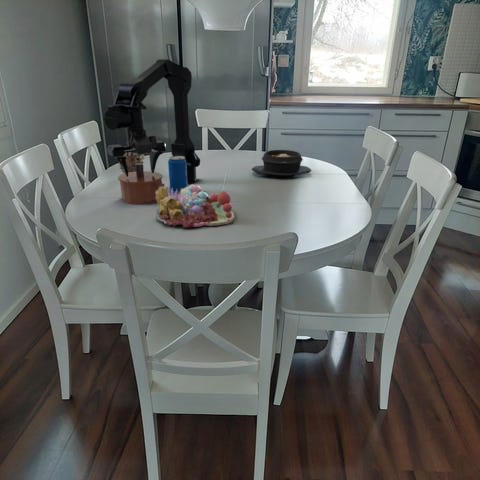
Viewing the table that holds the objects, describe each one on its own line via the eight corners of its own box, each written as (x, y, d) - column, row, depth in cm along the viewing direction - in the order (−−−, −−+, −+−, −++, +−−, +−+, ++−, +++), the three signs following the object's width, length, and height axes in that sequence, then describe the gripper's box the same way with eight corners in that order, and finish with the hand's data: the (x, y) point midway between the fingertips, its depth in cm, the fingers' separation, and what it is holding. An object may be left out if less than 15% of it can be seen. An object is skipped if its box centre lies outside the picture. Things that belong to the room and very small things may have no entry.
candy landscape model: (165, 233, 130) (163, 202, 125) (146, 210, 149) (143, 181, 144) (245, 222, 139) (245, 192, 134) (217, 201, 157) (216, 174, 152)
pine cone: (140, 181, 179) (137, 155, 174) (116, 181, 179) (113, 155, 174) (152, 168, 198) (150, 144, 192) (130, 168, 198) (128, 144, 193)
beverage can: (184, 194, 164) (182, 160, 158) (167, 193, 165) (165, 159, 159) (190, 189, 170) (188, 156, 163) (173, 188, 171) (171, 155, 164)
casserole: (252, 179, 182) (253, 158, 177) (250, 168, 198) (251, 148, 193) (314, 179, 183) (316, 158, 178) (307, 168, 198) (309, 148, 194)
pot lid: (140, 172, 165) (138, 157, 163) (171, 178, 158) (170, 162, 156) (109, 181, 155) (106, 165, 152) (141, 188, 148) (139, 171, 145)
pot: (136, 189, 169) (134, 170, 166) (176, 197, 160) (175, 177, 157) (108, 198, 159) (105, 178, 156) (149, 208, 150) (147, 187, 147)
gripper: (115, 131, 137) (121, 183, 146) (171, 127, 146) (174, 176, 154) (103, 126, 145) (110, 176, 154) (157, 122, 154) (161, 169, 162)
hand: (140, 174), depth 156 cm, fingers open, 9 cm apart
